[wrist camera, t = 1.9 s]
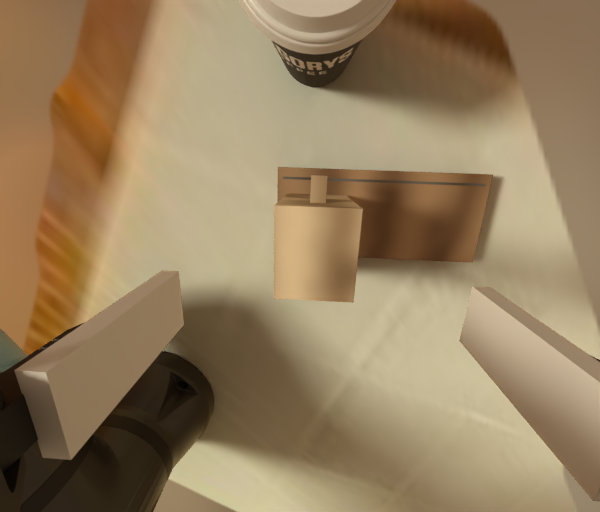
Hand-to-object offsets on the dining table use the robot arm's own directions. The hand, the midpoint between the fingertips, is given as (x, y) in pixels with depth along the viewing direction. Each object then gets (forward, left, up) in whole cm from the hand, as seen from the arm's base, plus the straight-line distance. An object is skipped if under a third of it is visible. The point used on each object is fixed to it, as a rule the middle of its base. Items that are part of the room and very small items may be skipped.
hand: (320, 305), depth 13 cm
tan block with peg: (0, +1, -19) cm, 19 cm away
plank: (+6, +1, -20) cm, 21 cm away
